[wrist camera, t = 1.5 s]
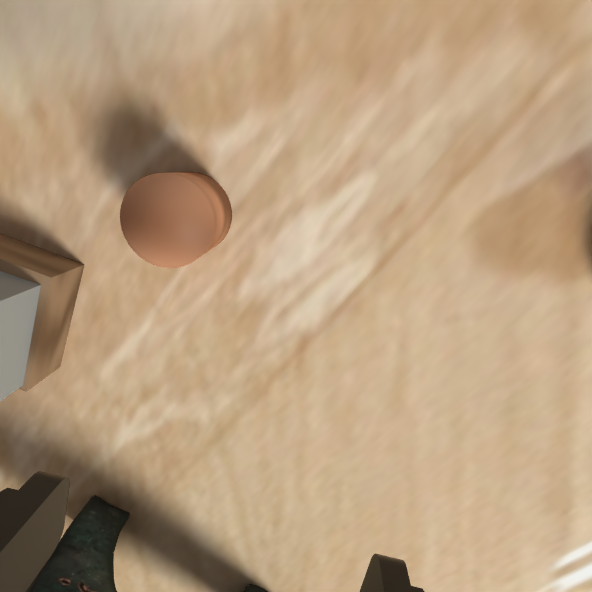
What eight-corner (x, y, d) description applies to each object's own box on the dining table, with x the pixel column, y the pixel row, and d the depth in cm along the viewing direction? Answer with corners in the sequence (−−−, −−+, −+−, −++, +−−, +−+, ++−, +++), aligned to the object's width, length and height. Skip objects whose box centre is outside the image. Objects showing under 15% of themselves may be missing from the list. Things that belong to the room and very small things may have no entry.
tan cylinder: (166, 160, 28) (133, 157, 23) (242, 189, 28) (225, 193, 23) (145, 235, 29) (110, 248, 24) (218, 262, 29) (197, 281, 24)
